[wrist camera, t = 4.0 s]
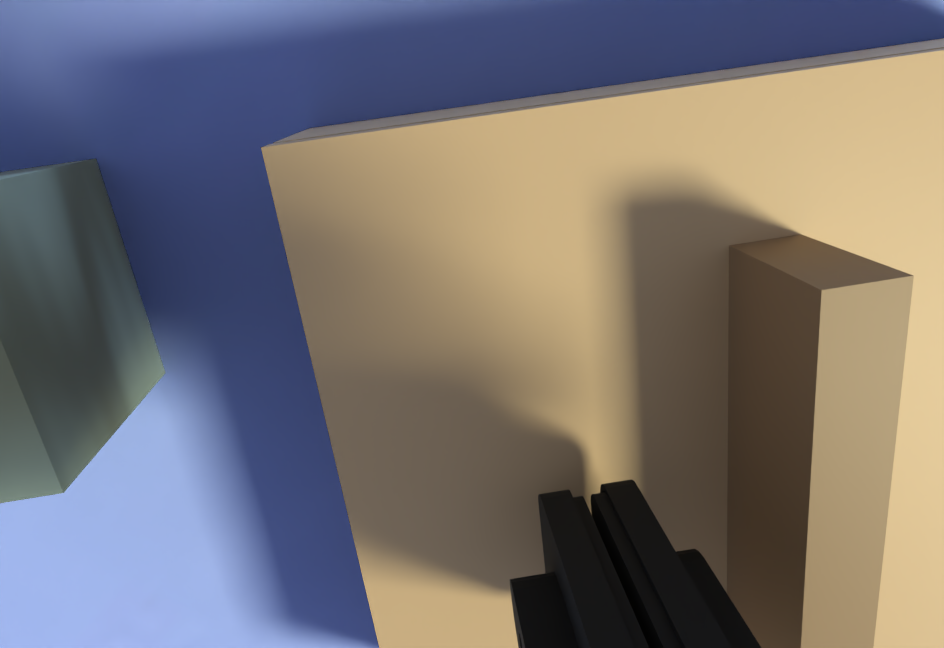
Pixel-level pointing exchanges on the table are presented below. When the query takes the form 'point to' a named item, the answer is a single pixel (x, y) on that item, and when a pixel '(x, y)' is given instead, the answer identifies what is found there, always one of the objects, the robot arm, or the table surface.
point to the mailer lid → (640, 343)
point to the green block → (65, 328)
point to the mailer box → (614, 90)
